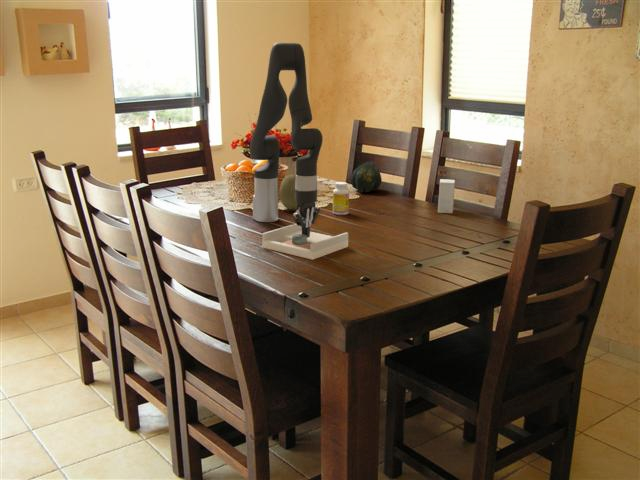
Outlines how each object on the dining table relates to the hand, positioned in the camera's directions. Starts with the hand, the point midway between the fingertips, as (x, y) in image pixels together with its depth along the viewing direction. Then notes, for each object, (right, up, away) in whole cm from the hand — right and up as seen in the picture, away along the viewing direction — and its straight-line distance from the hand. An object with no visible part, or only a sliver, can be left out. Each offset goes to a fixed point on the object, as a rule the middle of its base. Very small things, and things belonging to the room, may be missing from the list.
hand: (305, 237), depth 246 cm
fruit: (-7, +12, +56) cm, 57 cm away
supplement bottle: (+13, +10, +49) cm, 52 cm away
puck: (-2, -2, -3) cm, 4 cm away
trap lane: (0, -3, +1) cm, 4 cm away
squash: (+27, +22, +94) cm, 101 cm away
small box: (+58, +11, +56) cm, 82 cm away
